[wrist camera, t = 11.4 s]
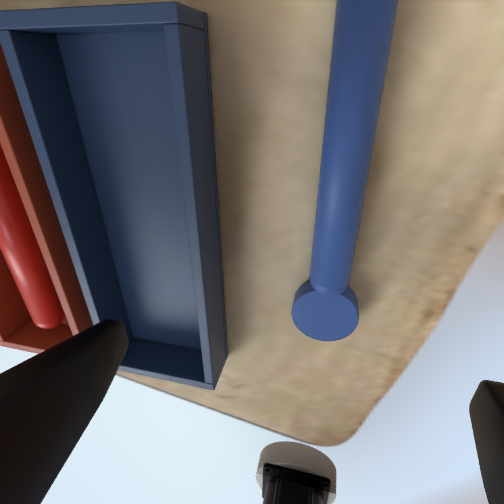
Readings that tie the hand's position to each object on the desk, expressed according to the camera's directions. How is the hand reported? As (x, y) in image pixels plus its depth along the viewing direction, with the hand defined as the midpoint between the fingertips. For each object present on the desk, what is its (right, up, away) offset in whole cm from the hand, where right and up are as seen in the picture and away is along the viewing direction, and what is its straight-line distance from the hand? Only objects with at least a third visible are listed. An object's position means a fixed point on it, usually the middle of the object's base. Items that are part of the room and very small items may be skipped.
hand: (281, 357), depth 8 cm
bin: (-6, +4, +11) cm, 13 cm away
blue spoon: (+3, +5, +7) cm, 10 cm away
